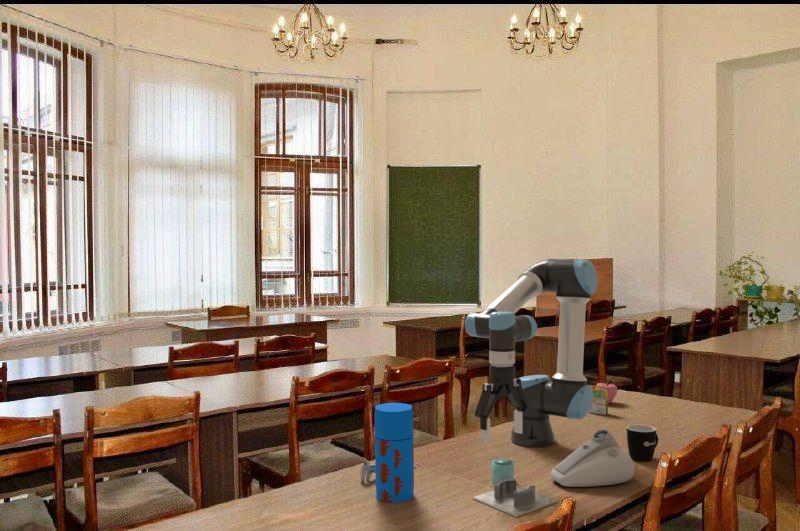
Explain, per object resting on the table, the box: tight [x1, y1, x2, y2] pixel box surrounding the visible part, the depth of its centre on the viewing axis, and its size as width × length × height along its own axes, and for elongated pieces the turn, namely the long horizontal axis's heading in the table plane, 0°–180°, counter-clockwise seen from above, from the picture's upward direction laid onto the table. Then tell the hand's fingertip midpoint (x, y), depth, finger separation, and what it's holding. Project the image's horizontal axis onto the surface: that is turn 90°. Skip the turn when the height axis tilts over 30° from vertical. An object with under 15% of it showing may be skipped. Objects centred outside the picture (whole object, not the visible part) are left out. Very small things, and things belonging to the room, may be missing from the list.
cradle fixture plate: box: [472, 478, 558, 518], centre depth 186 cm, size 16×16×4 cm
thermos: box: [374, 402, 415, 503], centre depth 191 cm, size 11×11×25 cm
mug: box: [626, 423, 659, 463], centre depth 220 cm, size 12×9×10 cm
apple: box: [595, 380, 618, 405], centre depth 295 cm, size 10×9×10 cm
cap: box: [491, 457, 515, 485], centre depth 200 cm, size 6×6×6 cm
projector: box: [550, 429, 636, 488], centre depth 202 cm, size 22×23×15 cm
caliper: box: [360, 460, 416, 483], centre depth 208 cm, size 20×1×6 cm, turn 128°
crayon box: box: [587, 384, 609, 415], centre depth 279 cm, size 7×3×12 cm, turn 58°
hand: (502, 436), depth 200 cm, fingers open, 13 cm apart
